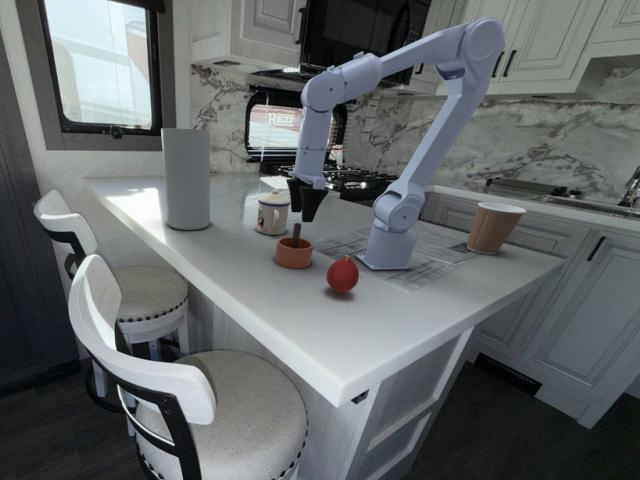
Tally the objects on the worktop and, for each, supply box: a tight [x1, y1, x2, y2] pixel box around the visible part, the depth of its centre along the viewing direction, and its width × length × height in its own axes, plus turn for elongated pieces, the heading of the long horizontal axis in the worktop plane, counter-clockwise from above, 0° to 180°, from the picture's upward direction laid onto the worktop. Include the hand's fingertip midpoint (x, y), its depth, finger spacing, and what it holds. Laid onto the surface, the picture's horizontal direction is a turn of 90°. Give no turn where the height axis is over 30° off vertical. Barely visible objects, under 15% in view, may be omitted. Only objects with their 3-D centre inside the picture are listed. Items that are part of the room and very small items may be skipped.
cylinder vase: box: [160, 127, 211, 231], centre depth 86 cm, size 12×12×25 cm
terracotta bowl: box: [274, 236, 314, 269], centre depth 71 cm, size 8×8×4 cm
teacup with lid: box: [256, 188, 291, 236], centre depth 87 cm, size 12×9×12 cm
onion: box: [326, 254, 360, 295], centre depth 58 cm, size 6×6×8 cm
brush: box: [289, 222, 302, 249], centre depth 70 cm, size 4×2×8 cm, turn 99°
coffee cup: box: [466, 201, 527, 255], centre depth 83 cm, size 10×10×12 cm
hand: (301, 216), depth 68 cm, fingers open, 7 cm apart
